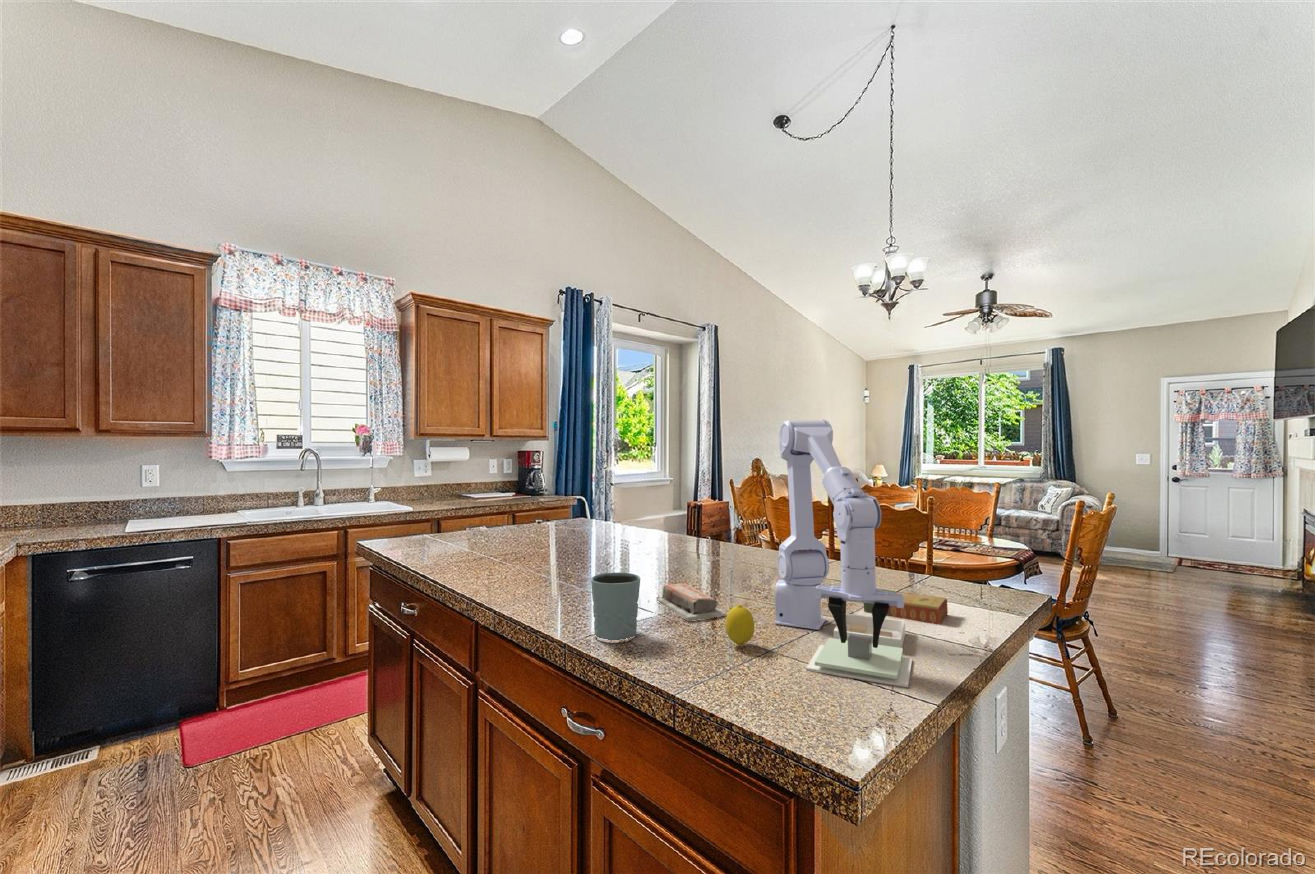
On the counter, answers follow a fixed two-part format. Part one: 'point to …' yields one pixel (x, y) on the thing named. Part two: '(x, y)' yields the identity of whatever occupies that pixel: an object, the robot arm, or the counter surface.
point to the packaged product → (689, 602)
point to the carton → (917, 608)
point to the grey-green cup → (615, 605)
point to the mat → (901, 681)
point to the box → (863, 625)
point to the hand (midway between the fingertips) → (859, 643)
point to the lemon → (739, 625)
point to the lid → (860, 657)
